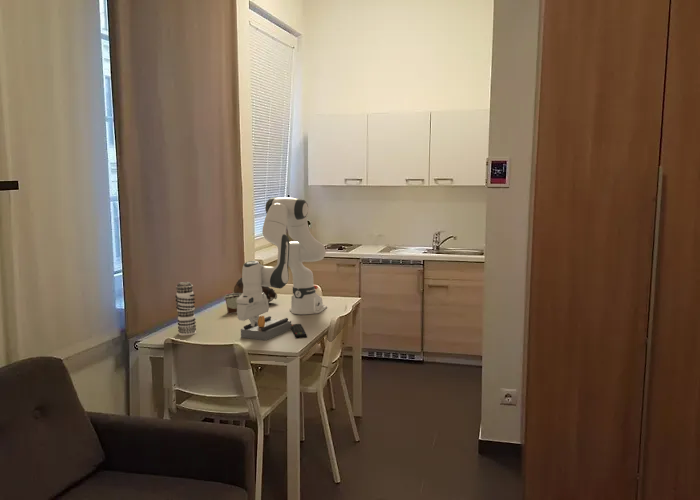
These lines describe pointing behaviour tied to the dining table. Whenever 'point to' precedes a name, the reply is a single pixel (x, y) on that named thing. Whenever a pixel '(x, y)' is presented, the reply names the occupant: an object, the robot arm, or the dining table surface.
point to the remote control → (298, 331)
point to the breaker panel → (258, 334)
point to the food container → (232, 302)
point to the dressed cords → (268, 325)
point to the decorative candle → (185, 308)
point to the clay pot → (268, 291)
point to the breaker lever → (261, 321)
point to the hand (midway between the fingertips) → (254, 325)
